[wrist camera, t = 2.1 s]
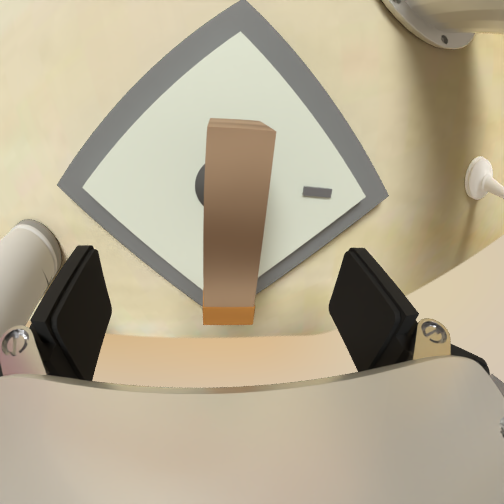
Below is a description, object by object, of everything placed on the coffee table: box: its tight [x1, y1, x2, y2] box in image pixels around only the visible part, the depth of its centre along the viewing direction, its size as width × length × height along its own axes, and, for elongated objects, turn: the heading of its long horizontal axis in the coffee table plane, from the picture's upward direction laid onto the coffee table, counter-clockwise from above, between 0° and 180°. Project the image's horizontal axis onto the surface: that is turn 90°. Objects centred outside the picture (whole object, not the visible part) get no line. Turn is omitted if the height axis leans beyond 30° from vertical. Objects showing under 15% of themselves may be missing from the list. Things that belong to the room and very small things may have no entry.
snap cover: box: [57, 0, 389, 307], centre depth 18 cm, size 18×18×3 cm
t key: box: [203, 118, 276, 325], centre depth 14 cm, size 9×2×7 cm, turn 175°
